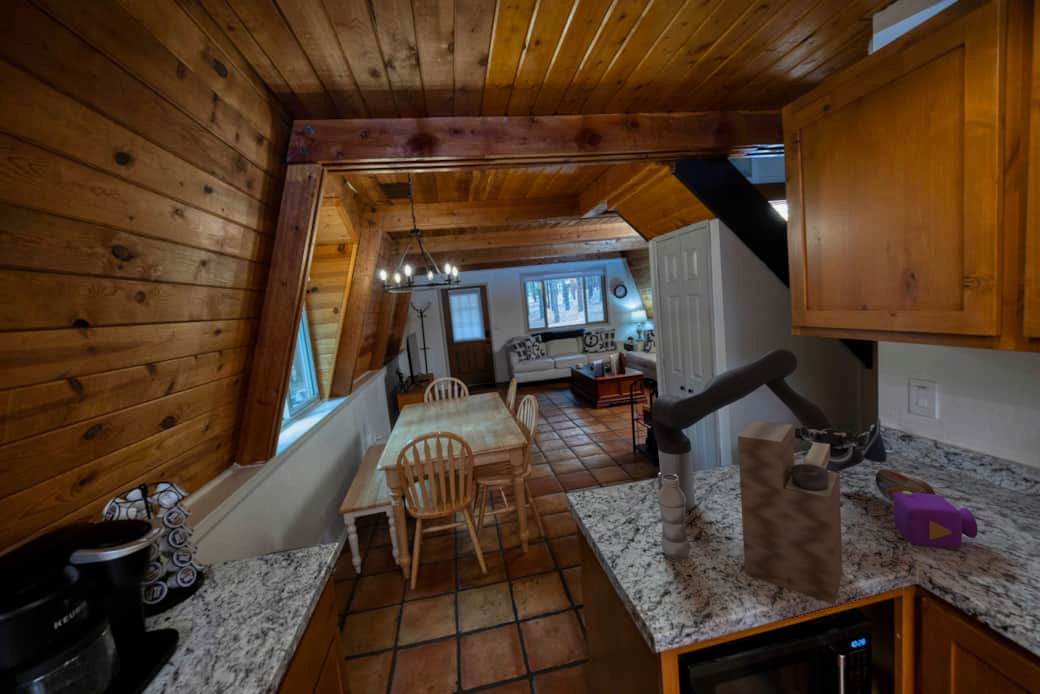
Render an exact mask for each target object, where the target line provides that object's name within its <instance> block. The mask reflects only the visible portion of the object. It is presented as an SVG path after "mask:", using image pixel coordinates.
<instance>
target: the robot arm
mask: <svg viewBox="0 0 1040 694" xmlns="http://www.w3.org/2000/svg"><path fill="white" fill-rule="evenodd" d="M797 367H798V359H797V357H796V355H795V353H793V352H792V351H790V350H789V349H786V348H776V349H775V348H774V349H772V350H770V351H768V352H767V353H765V354H764V355H762V356H761V357H759V358H757V359H755V361H752V362H749V363H746V364H743V365H741V366H737V367H735V368H732V369H730V370H727V371H724V372H723V373H719V374H718V375H715V376H714V377H712V378H710V379H709V380H708V381H707V383H706V385H705V386H704V388H703V390H701V391H700V392H698V393H696V394H694V395H690V396H688V397H680V396H679V397H678V396H675V395H670V394H662V395H659V396H658V397H656V399H655V400H654V401H653V403H652V408H651V419H652V420H651V421H652V427H653V435H654V440H655V441H656V443H657V447H658V459H659V472H658V473H657V484H658V492H659V491H660V490H661V488H662V487H663V484H662V481H663V480H662V476H663V475H665V474H674V475H676V476H678V480H679V486H678V487H679V488H680V489H681V491H682V492H683V493H684V495H685V498H686V508H685V511H689V510H692V509H693V508H695V506H696V503H695V502H696V501H695V500H696V499H695V488H694V487H695V485H694V472H693V471H694V470H693V457H692V453H693V452H692V442H691V440H690V438H689V437H688V436H687V435H686V434H685V433H684V432H683V431H682V430H686V429H688V428H690V427H692V426H694V425H695V424H697V423H698V422H699V421H701V420H702V419H704V418H705V417H707V416H708V415H710V414H712V413H714V412H716V411H719V410H721V409H722V408H725V407H726V406H728V405H732V404H733V403H735V402H737V401H739V400H742V399H744V398H745V397H747V396H749V395H750V394H752V393H753V392H755V391H756V390H758V389H759V388H761V387H763V386H764V385H765V386H766V387H767V388H768V389H769V390H770V391H771V392H772V393H773V394H774V395H775V396H776V397H777V398H778V399H779V400H780V401H781V402H782V403H783V404H784V406H786V407H787V408H788V410H789V411H790V412H791V413H792V414H793V416H795V418H796V419H797V421H798V422H799V423H800V425H801V426H802V427H800V428H798V427H795V428H794V436H793V439H796V441H798V442H799V443H806V441H808V442H809V443H810V444H813V443H814V442H817V443H825V444H830V458H829V461H828V464H827V466H826V470H827V471H828V472H833V473H839V472H842V471H844V470H847V469H850V468H853V467H855V466H857V465H859V464H862V463H863V462H864V459H865V458H864V456H865V455H864V453H863V451H865V450H866V435H863V434H860V435H858V436H856V434H855V433H853V432H851V431H850V430H845V432H843V431H841V430H839V429H837V428H836V427H835V425H834V424H833V423H832V422H831V420H830V419H829V418H828V416H827V415H826V414H825V412H824V411H823V410H822V409H821V408H820V407H819V406H818V405H816V404H815V403H814V402H813V401H811V400H810V399H808V398H806V397H805V396H803V395H801V394H799V393H798V392H797V391H796V390H794V388H792V387H791V386H790V385H789V384H788V382H787V381H786V379H785V378H787V377H789V376H790V375H792V374H793V373H795V372H796V370H797Z"/></svg>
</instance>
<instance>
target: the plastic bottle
mask: <svg viewBox="0 0 1040 694" xmlns="http://www.w3.org/2000/svg"><path fill="white" fill-rule="evenodd" d="M662 480H663V481H662V484H663V487H662V488H661V490H660V491H659V490H658V493H657V502H658V506H659V510H660V517H661V521H662V522H661V523H662V525H661V526H662V527H661V531H662V532H661V533H662V534H661V538H660V540H661V542H660V545H661V549H662V552H663V553H664V554H665V555H666V556H667V557H669V558H670V559H673V560H676V561H677V560H679V561H680V560H684V559H685V560H686V558H687V557H688V556H689V555H690V548H691V546H690V542H689V538H688V534H687V533H688V532H687V527H686V510H685V508H686V498H685V495H684V493H683V492H682V491H681V489H680V488H679V487H678V486H679V480H678V476H676V475H674V474H665V475H663V476H662Z"/></svg>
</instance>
